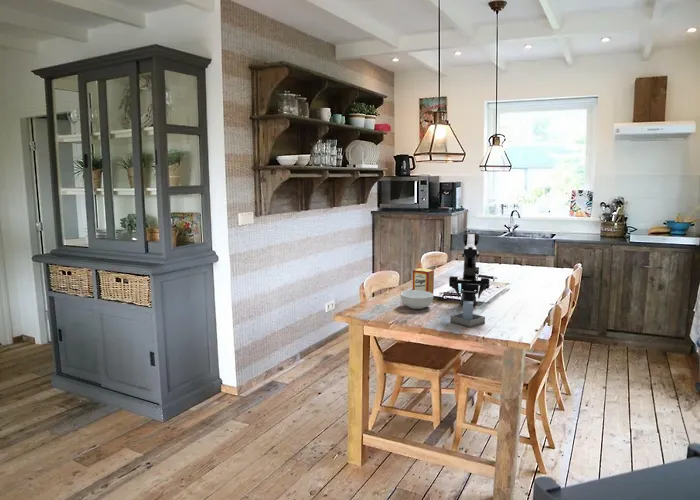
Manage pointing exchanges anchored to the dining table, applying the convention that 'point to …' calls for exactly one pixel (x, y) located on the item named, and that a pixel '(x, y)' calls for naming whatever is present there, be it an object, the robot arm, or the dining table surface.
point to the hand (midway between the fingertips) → (468, 297)
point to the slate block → (468, 310)
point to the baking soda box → (423, 280)
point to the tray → (459, 320)
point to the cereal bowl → (417, 298)
